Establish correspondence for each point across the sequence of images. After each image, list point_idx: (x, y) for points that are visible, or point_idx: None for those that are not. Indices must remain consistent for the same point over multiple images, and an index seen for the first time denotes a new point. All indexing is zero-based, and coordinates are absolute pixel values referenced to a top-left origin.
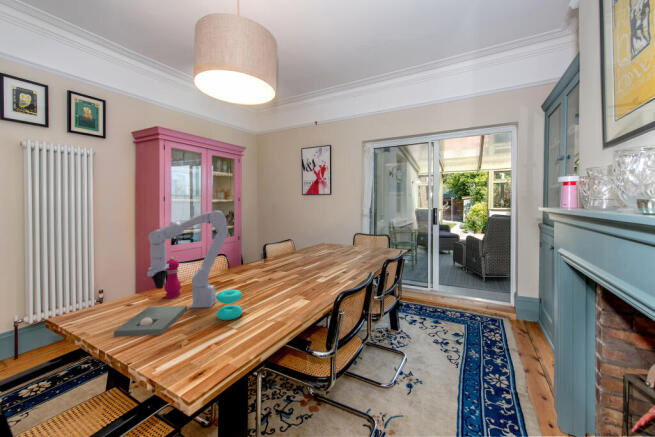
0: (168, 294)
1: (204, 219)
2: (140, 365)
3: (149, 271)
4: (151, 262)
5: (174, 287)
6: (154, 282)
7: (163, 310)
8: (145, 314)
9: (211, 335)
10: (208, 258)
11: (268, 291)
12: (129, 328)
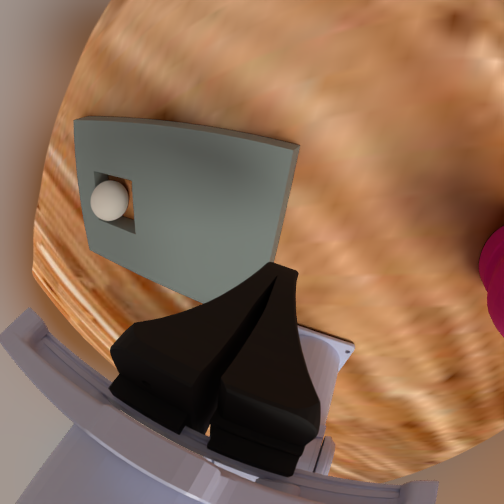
0: (501, 247)
1: None
2: (39, 224)
3: (22, 359)
4: (22, 498)
5: (493, 310)
6: (227, 293)
7: (214, 241)
8: (177, 170)
9: (112, 322)
10: None
11: (337, 452)
12: (83, 160)
